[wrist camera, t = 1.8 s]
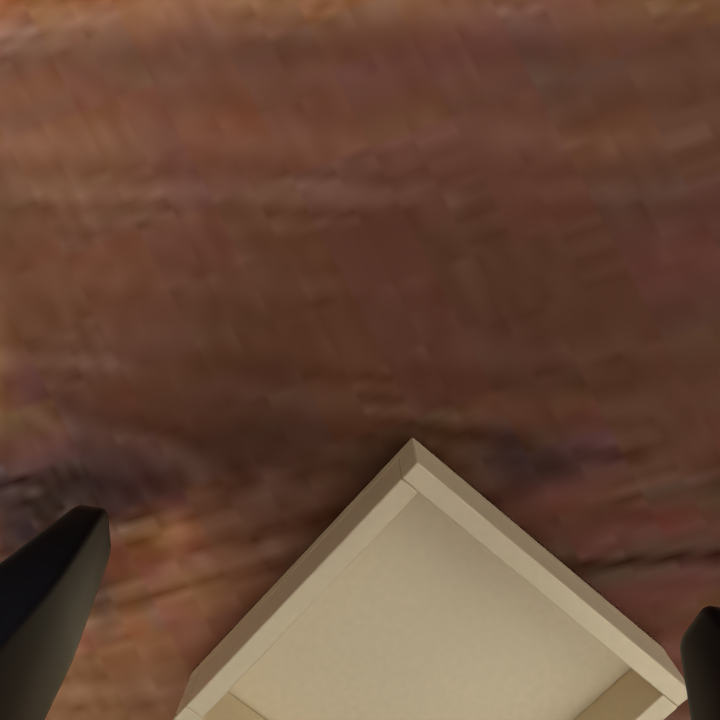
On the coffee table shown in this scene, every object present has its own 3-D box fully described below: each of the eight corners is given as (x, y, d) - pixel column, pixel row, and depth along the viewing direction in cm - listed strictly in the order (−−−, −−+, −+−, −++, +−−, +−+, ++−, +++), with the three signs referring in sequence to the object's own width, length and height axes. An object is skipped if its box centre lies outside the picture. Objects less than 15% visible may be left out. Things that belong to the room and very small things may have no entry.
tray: (435, 851, 29) (441, 913, 26) (190, 672, 27) (172, 720, 24) (663, 647, 26) (694, 693, 24) (412, 436, 25) (417, 462, 22)
